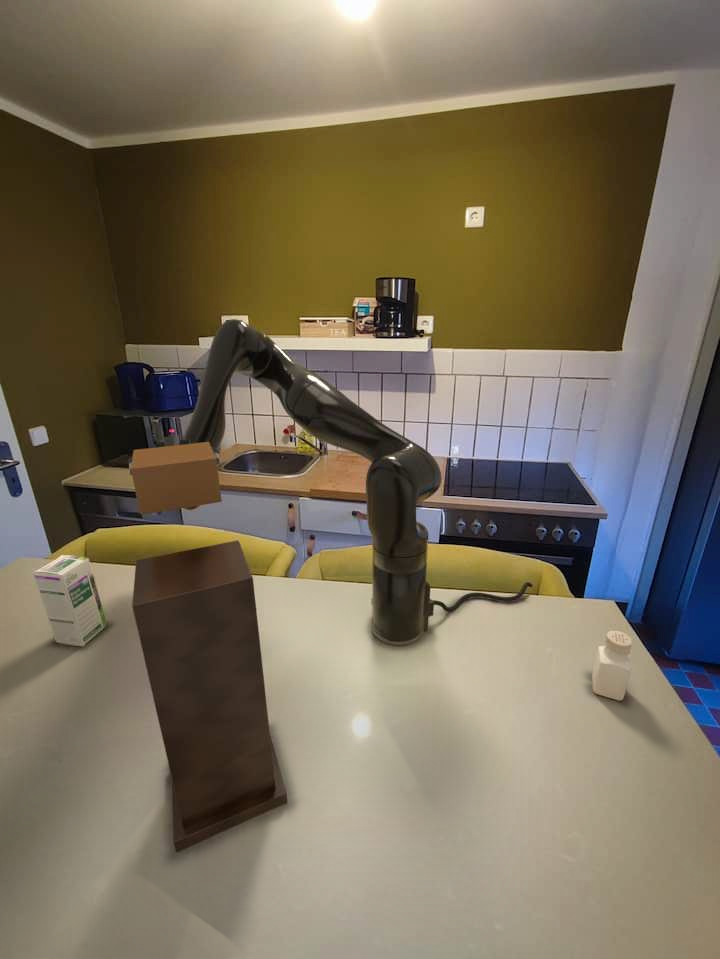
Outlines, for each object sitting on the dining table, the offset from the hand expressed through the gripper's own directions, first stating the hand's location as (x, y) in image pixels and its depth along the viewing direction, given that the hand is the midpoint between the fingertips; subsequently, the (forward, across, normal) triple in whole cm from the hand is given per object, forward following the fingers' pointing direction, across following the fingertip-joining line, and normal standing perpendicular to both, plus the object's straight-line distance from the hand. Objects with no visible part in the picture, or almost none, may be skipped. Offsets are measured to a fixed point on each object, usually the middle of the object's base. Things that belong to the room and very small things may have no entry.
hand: (172, 445), depth 58 cm
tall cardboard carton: (+3, 0, +4) cm, 5 cm away
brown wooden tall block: (+2, 0, +43) cm, 43 cm away
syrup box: (-31, -20, +24) cm, 44 cm away
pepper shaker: (+10, +54, +48) cm, 73 cm away
